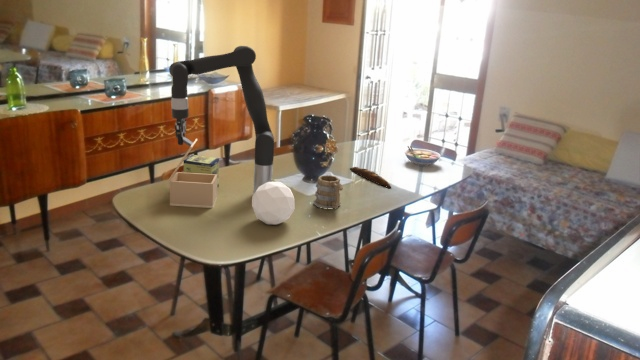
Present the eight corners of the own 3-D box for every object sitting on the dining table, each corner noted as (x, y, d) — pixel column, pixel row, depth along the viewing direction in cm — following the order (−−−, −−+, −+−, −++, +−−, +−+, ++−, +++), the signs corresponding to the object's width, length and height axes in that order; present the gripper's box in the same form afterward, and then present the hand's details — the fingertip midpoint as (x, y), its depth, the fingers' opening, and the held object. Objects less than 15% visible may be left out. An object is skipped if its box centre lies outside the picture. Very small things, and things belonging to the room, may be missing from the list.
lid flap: (197, 139, 268) (182, 128, 266) (192, 147, 254) (175, 136, 252) (176, 171, 273) (160, 161, 271) (169, 181, 259) (152, 170, 257)
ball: (268, 240, 251) (251, 215, 236) (257, 210, 264) (239, 184, 250) (306, 221, 251) (291, 194, 236) (292, 191, 265) (277, 165, 250)
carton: (217, 197, 277) (217, 174, 273) (212, 207, 264) (212, 184, 260) (176, 194, 276) (176, 171, 272) (170, 205, 263) (169, 181, 259)
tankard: (310, 201, 282) (312, 173, 277) (333, 199, 287) (335, 171, 282) (326, 216, 264) (328, 186, 260) (350, 214, 269) (352, 185, 265)
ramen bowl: (442, 171, 346) (444, 159, 343) (405, 169, 346) (407, 156, 343) (435, 160, 370) (437, 148, 367) (401, 157, 369) (402, 145, 367)
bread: (394, 189, 310) (395, 180, 308) (388, 190, 307) (389, 181, 306) (352, 169, 339) (353, 161, 337) (346, 170, 336) (347, 162, 335)
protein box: (211, 193, 282) (212, 163, 277) (183, 188, 285) (182, 159, 280) (219, 186, 292) (219, 158, 287) (191, 182, 295) (191, 154, 290)
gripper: (185, 110, 248) (186, 147, 254) (191, 104, 262) (192, 139, 268) (168, 110, 248) (169, 147, 254) (175, 103, 262) (176, 139, 267)
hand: (181, 143), depth 261 cm, fingers closed on lid flap, 4 cm apart
